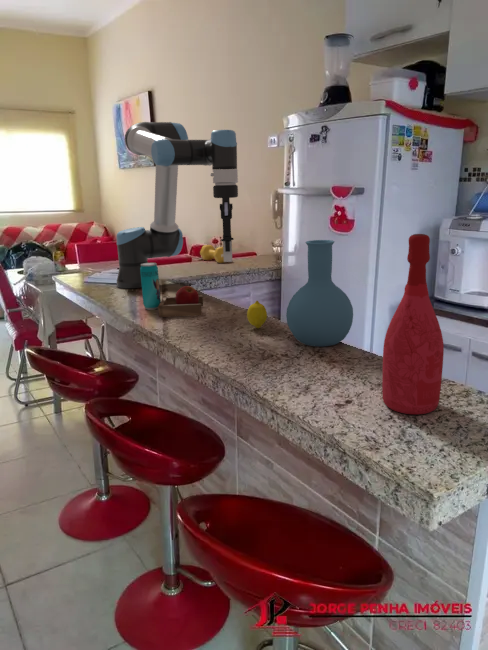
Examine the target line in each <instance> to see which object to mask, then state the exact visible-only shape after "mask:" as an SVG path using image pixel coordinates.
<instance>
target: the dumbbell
mask: <svg viewBox="0 0 488 650" xmlns="http://www.w3.org/2000/svg"><path fill="white" fill-rule="evenodd" d="M199 254H200V256H201V258H202V260H204V261H211V260H215V262H216V263H218V264H224V263H226V262H224V254H223V246H219V247H216V248H215V247H214V246H213V245H211V244H204V245H203V246H202V247H201V249H200V251H199Z"/></svg>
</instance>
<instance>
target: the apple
mask: <svg viewBox="0 0 488 650" xmlns="http://www.w3.org/2000/svg"><path fill="white" fill-rule="evenodd" d="M199 296H200V295H199V292H198V291H197V289H195V288H194V287H193V286H190V285H183V286H182V287H180V288H179V289H178V290H177V291H176V293H175V296H174V297H175V300H176V304H177V305H179V304H198V301H199Z"/></svg>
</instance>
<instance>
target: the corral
mask: <svg viewBox="0 0 488 650" xmlns="http://www.w3.org/2000/svg"><path fill="white" fill-rule="evenodd" d="M175 297H176V296H167V297H165V296H163V297H162V299H161V302H160V304H159V306H158V309H157V310H158V318H169V317H170V318H171V317H195V316H198V317H199V316H202V314H203V311H202V308H204V295H199V301H198V304H179V305H177V304H176V300H175Z"/></svg>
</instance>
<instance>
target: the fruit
mask: <svg viewBox="0 0 488 650" xmlns="http://www.w3.org/2000/svg"><path fill="white" fill-rule="evenodd" d="M246 318H247V321H248V322H249V324H250V325H251V326H254V327H255V328H256V329H261V327H262V326H263V325H264V324H265V322H266V321H267V318H268V313H267V309H266V306H265V305H264V304H263V303H260V302H259V300H255V302H254V303H252V304H250V305H249V306H248V309H247V311H246Z"/></svg>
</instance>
